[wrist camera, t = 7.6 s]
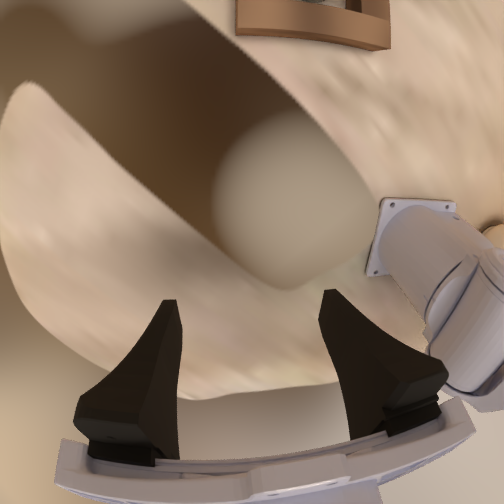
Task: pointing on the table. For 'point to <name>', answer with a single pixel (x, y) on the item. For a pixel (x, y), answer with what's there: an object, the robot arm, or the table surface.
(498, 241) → the lidded jar
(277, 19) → the socket block
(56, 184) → the table surface
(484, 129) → the table surface
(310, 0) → the peg
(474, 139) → the table surface
